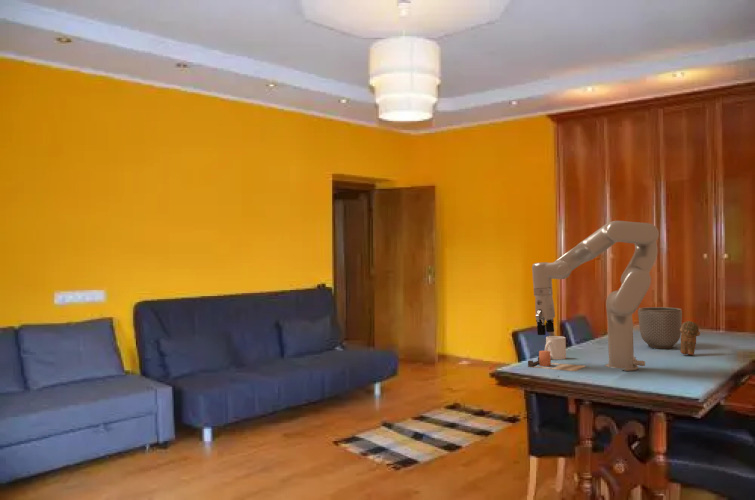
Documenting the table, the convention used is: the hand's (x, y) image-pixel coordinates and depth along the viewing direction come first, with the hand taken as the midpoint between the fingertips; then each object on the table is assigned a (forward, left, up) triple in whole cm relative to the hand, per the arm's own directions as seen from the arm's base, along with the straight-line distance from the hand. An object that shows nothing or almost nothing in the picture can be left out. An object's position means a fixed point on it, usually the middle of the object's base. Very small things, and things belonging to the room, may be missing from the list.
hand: (546, 333), depth 255 cm
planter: (-28, -78, -15) cm, 84 cm away
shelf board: (-4, 0, -14) cm, 15 cm away
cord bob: (+1, 0, -15) cm, 14 cm away
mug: (+4, -18, -15) cm, 24 cm away
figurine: (-44, -60, -15) cm, 76 cm away
